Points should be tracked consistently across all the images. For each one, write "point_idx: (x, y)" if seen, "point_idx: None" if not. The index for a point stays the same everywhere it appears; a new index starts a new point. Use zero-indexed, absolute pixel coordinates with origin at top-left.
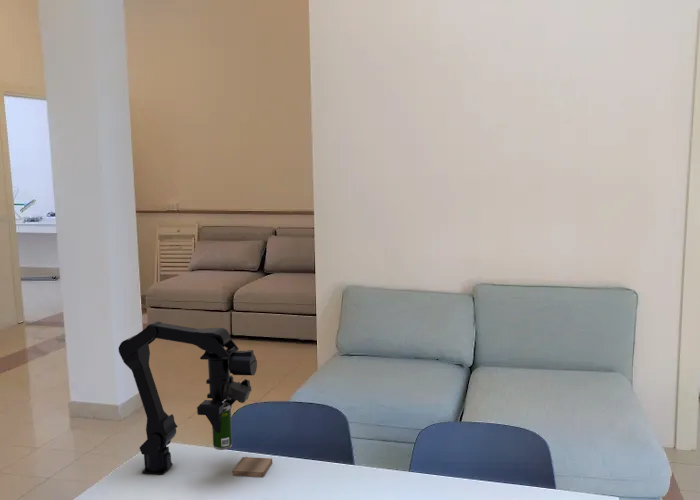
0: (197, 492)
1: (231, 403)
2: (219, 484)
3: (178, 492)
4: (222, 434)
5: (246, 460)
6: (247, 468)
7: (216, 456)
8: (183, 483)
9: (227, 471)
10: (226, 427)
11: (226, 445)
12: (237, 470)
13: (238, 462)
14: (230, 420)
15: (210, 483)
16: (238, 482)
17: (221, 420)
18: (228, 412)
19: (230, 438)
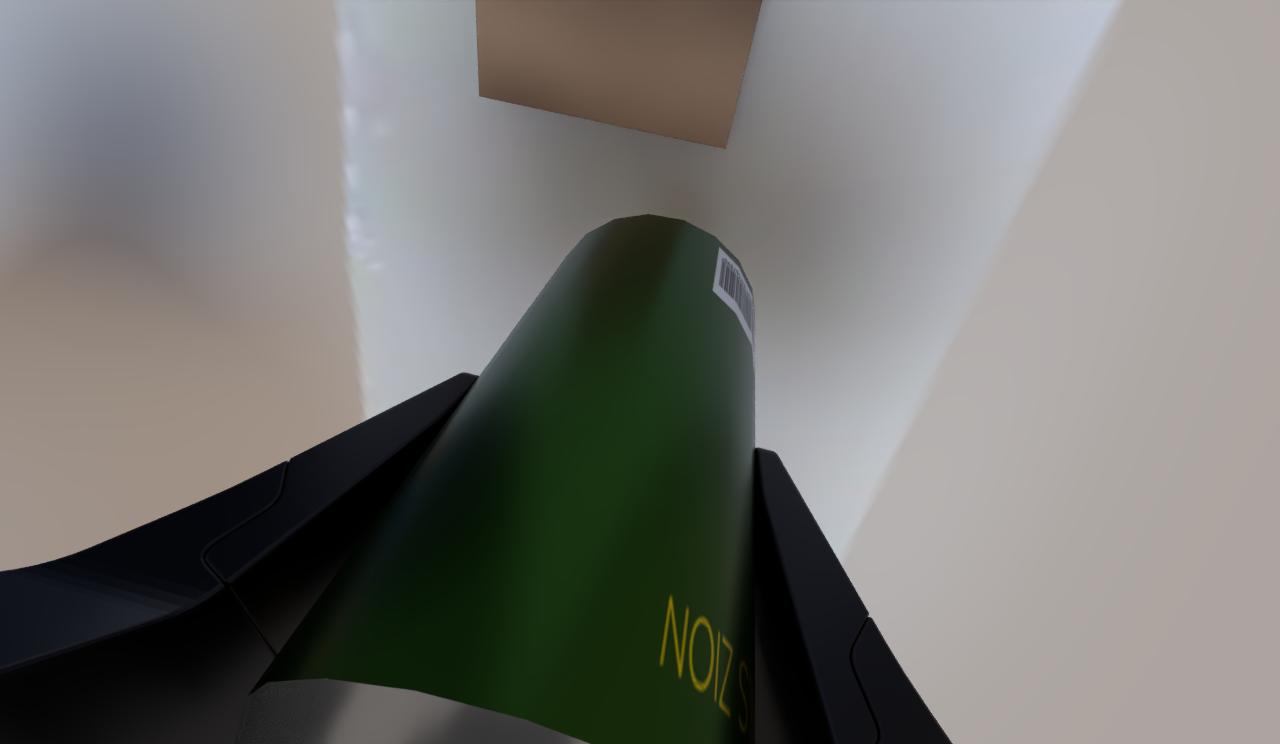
0: (925, 335)
1: (79, 683)
2: (851, 216)
3: (886, 421)
4: (751, 394)
5: (540, 46)
6: (700, 3)
7: (450, 286)
8: (781, 409)
9: (654, 188)
10: (727, 408)
11: (742, 276)
12: (728, 101)
13: (580, 117)
14: (611, 414)
15: (818, 276)
16: (859, 65)
17: (754, 593)
18: (627, 651)
19: (688, 261)
